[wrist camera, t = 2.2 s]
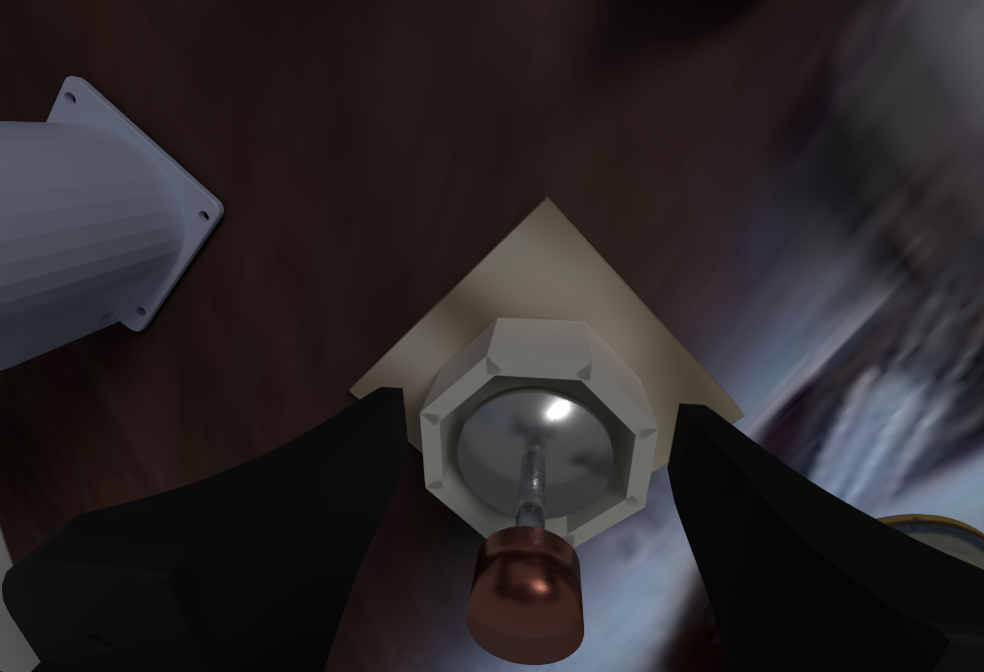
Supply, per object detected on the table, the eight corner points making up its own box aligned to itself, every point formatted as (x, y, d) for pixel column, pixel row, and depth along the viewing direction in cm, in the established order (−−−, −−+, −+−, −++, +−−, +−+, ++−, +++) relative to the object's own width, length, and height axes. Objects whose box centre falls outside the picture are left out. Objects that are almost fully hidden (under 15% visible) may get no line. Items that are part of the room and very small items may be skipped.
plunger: (530, 530, 21) (520, 722, 14) (430, 443, 20) (364, 608, 13) (644, 460, 19) (697, 648, 12) (538, 355, 17) (529, 499, 11)
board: (531, 535, 27) (530, 546, 27) (354, 383, 25) (348, 390, 24) (738, 407, 22) (744, 415, 22) (546, 196, 20) (546, 198, 19)
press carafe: (532, 504, 25) (528, 574, 21) (408, 394, 24) (378, 448, 19) (674, 411, 22) (702, 473, 18) (543, 274, 20) (540, 309, 16)
